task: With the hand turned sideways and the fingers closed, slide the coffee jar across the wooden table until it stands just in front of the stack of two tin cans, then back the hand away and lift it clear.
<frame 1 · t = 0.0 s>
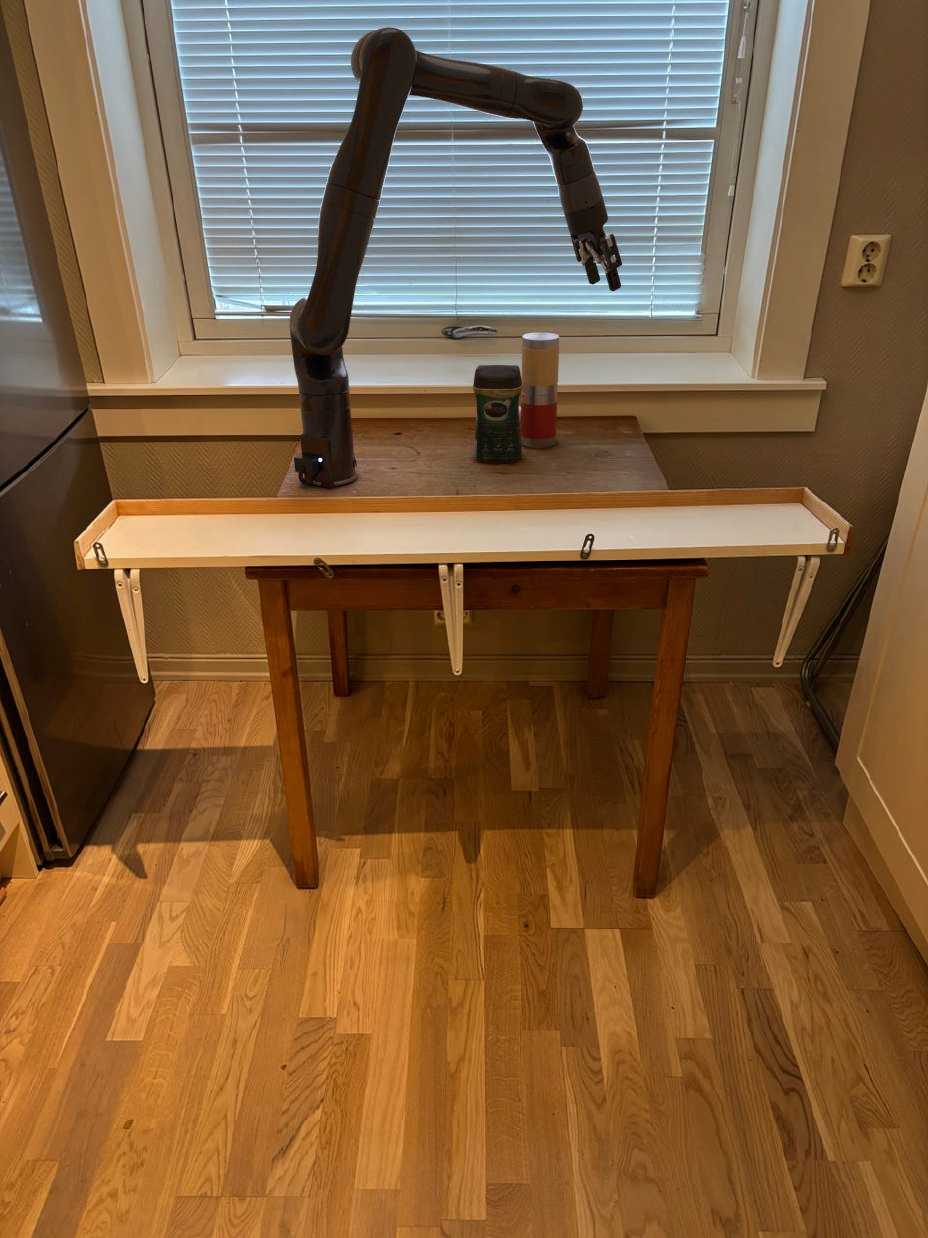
hand: (605, 285, 176), 31 cm above the table, tool tilted 20°, fingers open, 8 cm apart
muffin: (508, 428, 202), on the table
tin cans: (537, 442, 192), on the table
coffee jar: (497, 458, 184), on the table
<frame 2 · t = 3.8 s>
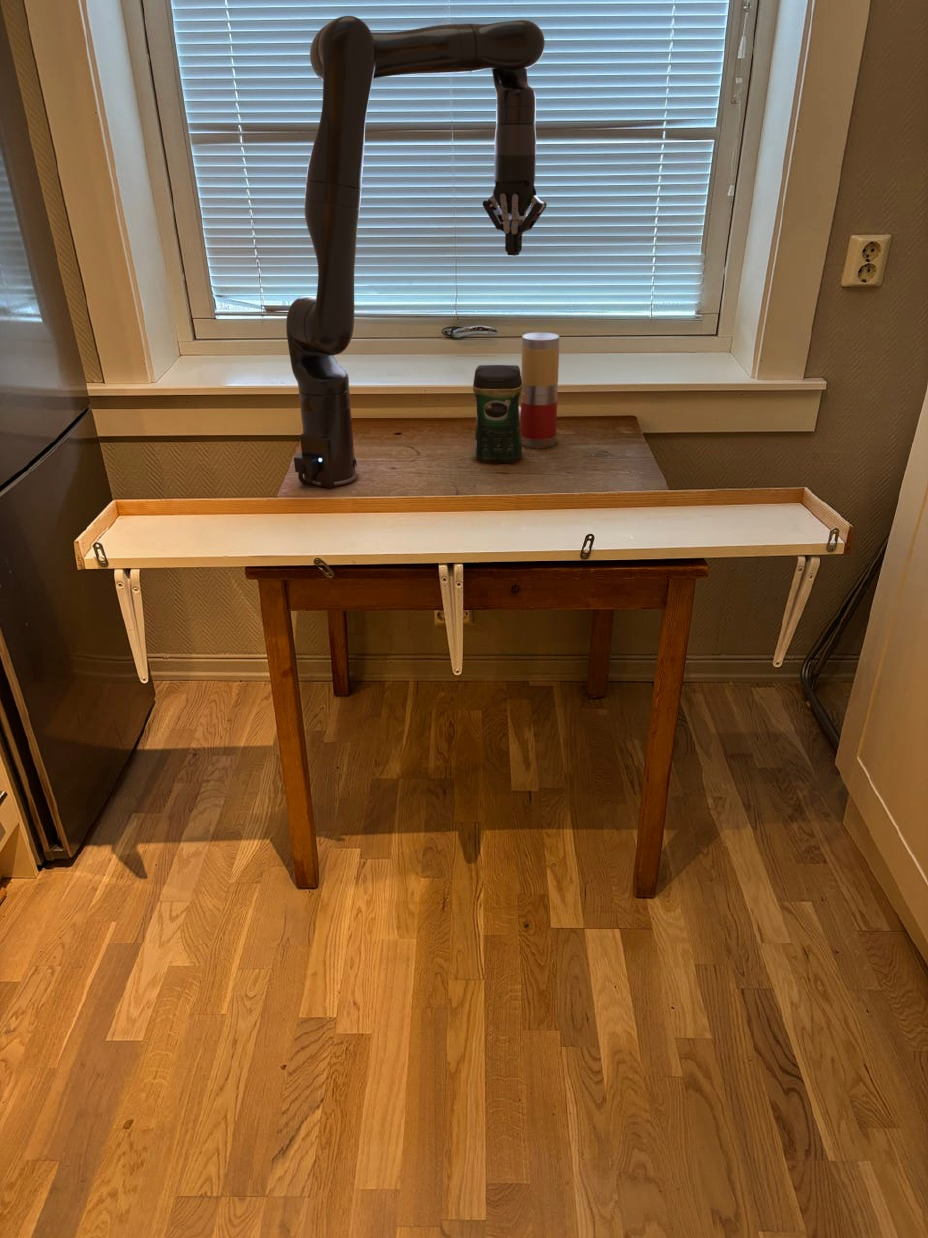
hand: (513, 254, 173), 37 cm above the table, tool pointing down, fingers closed
nothing on the table moved.
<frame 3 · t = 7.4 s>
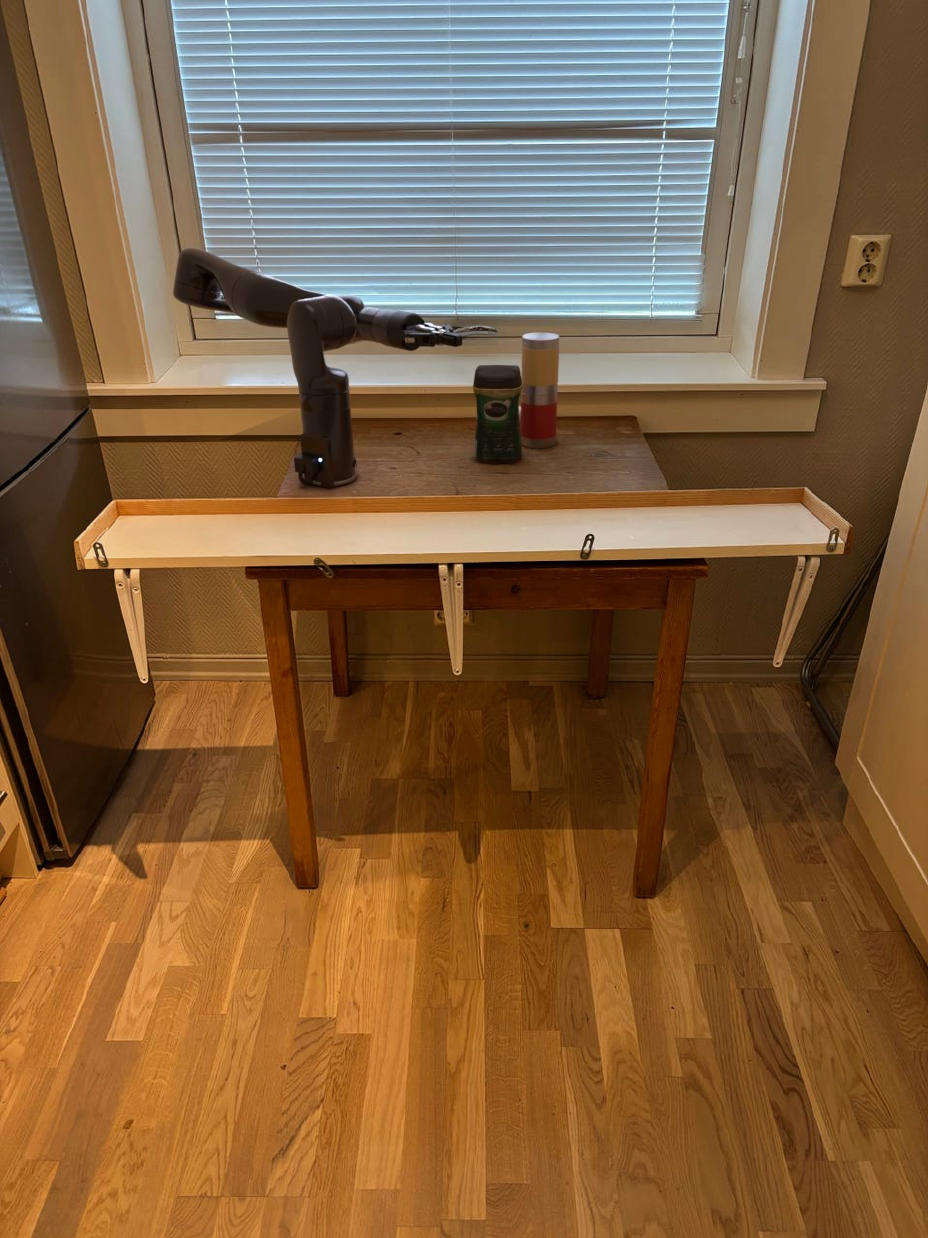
hand: (459, 340, 179), 22 cm above the table, tool horizontal, fingers closed
nothing on the table moved.
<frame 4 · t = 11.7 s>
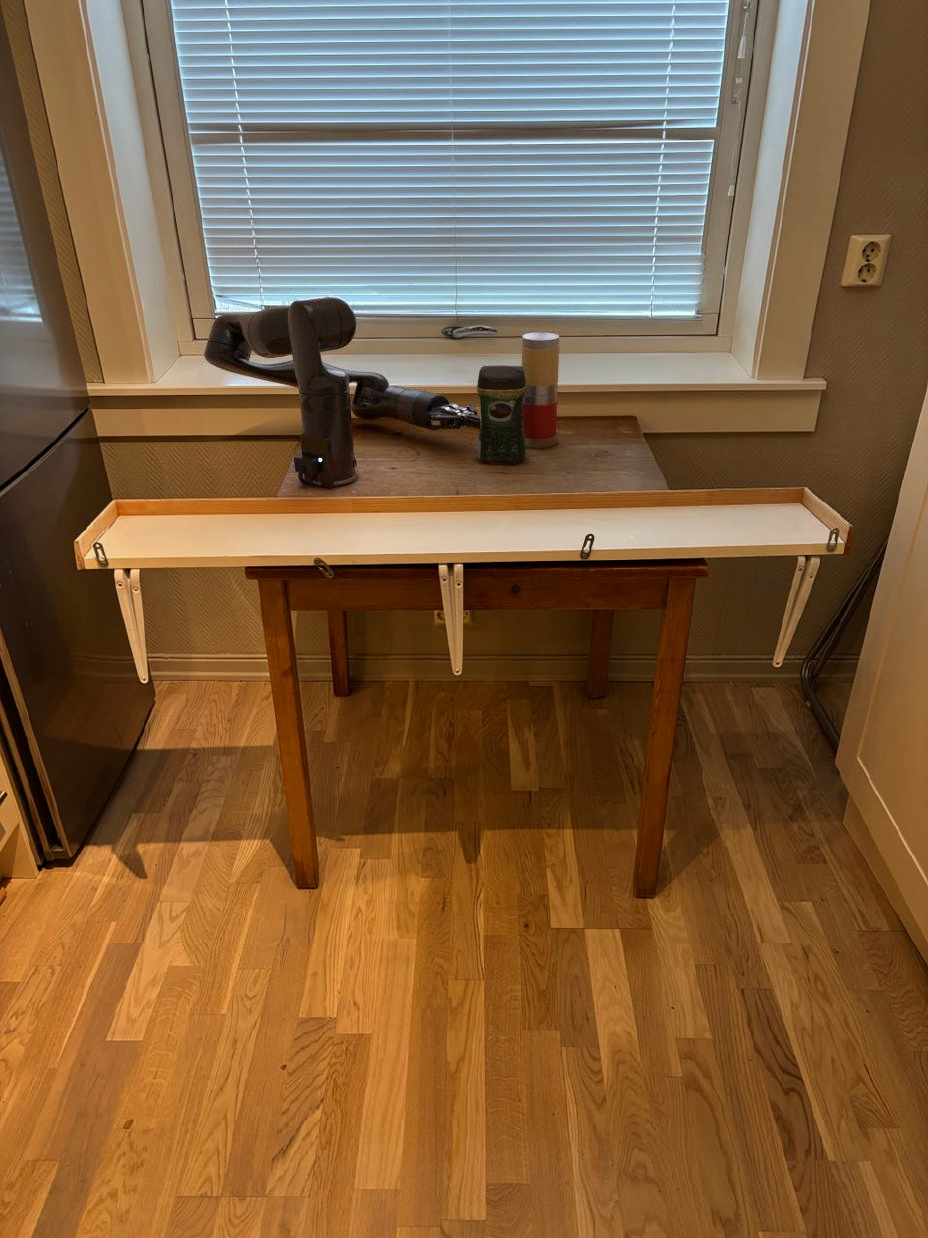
hand: (484, 423, 183), 6 cm above the table, tool horizontal, fingers closed
coffee jar: (501, 459, 184), on the table, touching gripper
everything else where it was.
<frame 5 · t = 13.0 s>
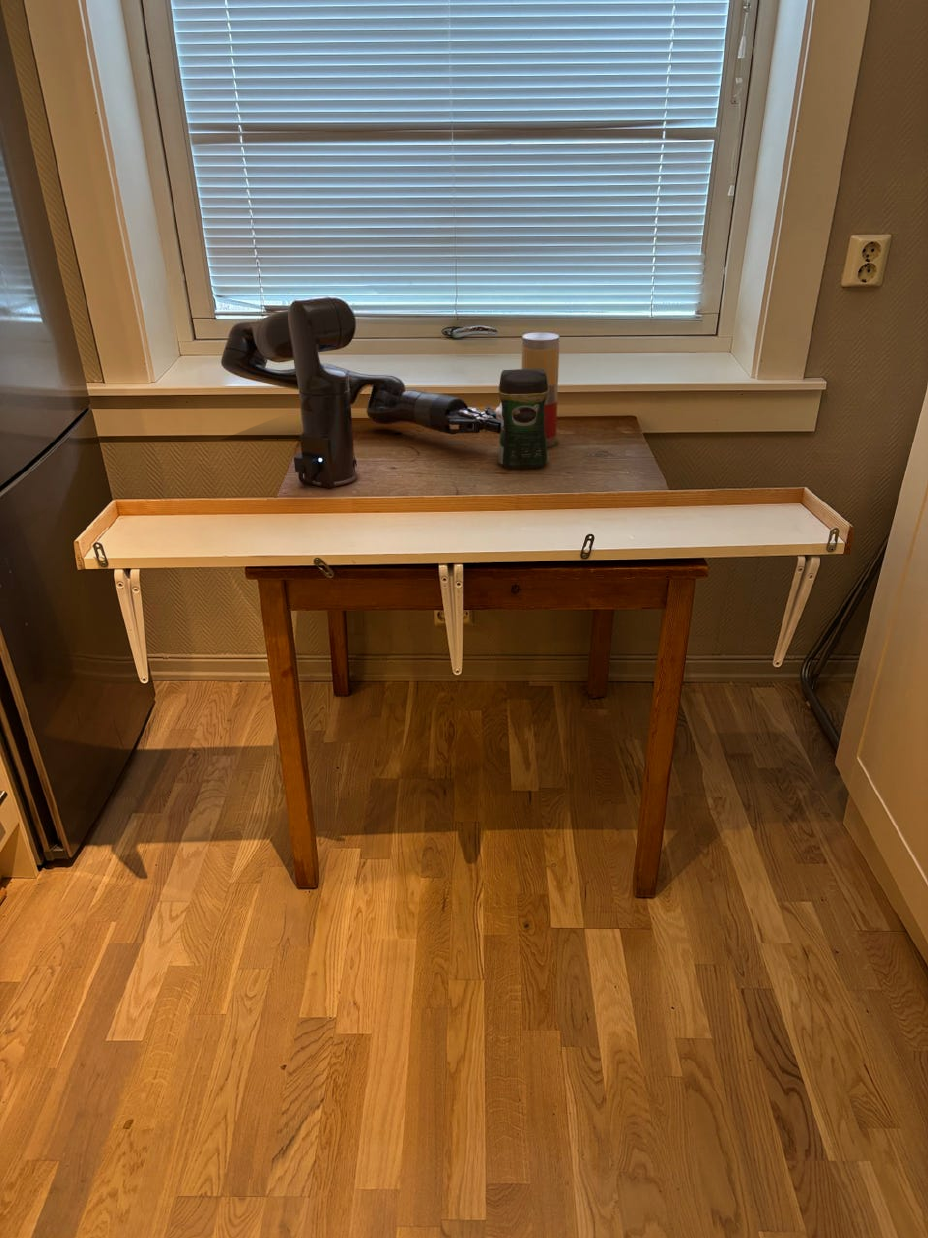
hand: (504, 427, 180), 7 cm above the table, tool horizontal, fingers closed
coffee jar: (522, 464, 181), on the table, touching gripper
everything else where it was.
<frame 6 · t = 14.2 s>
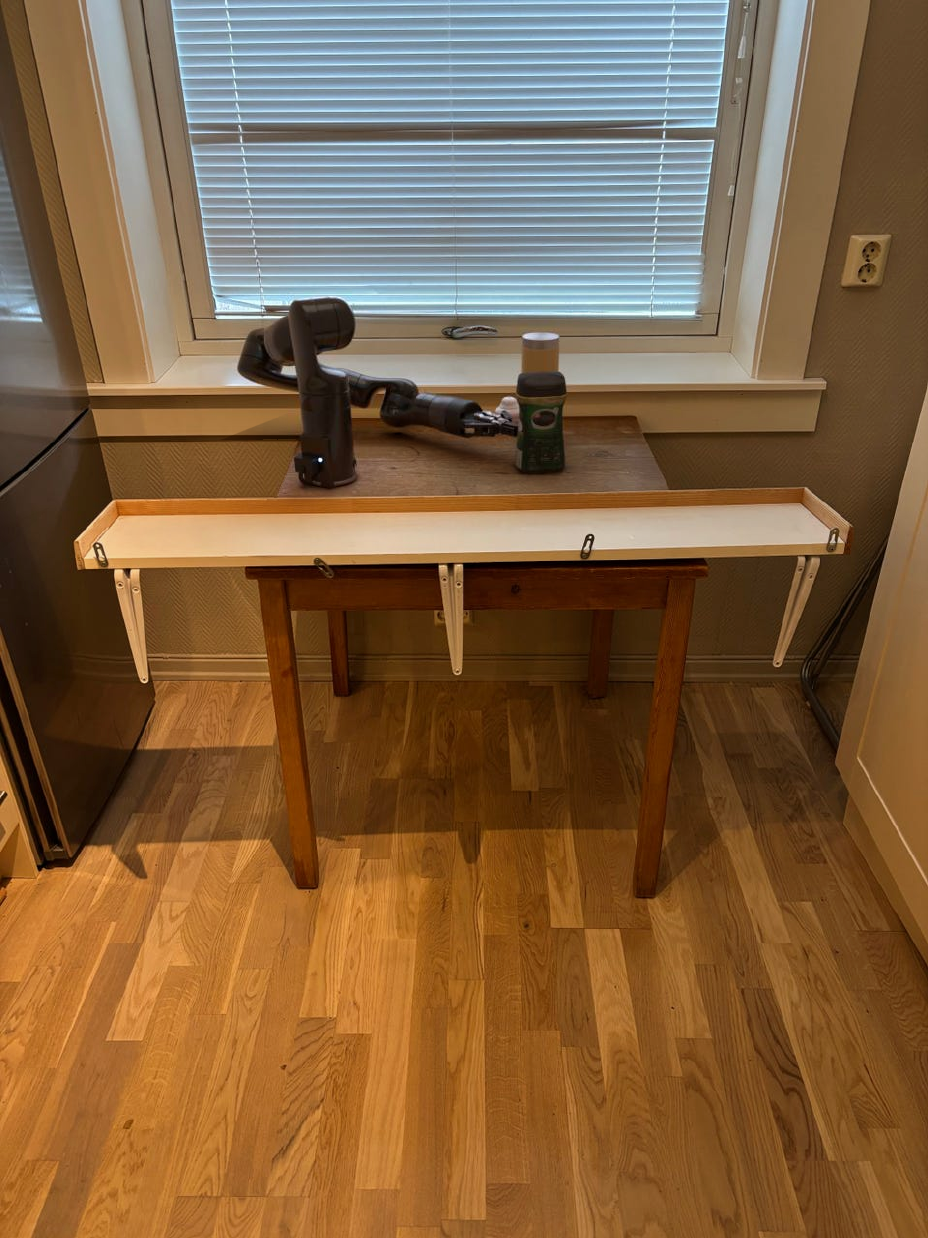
hand: (520, 431, 177), 7 cm above the table, tool horizontal, fingers closed
coffee jar: (539, 468, 179), on the table, touching gripper
everything else where it was.
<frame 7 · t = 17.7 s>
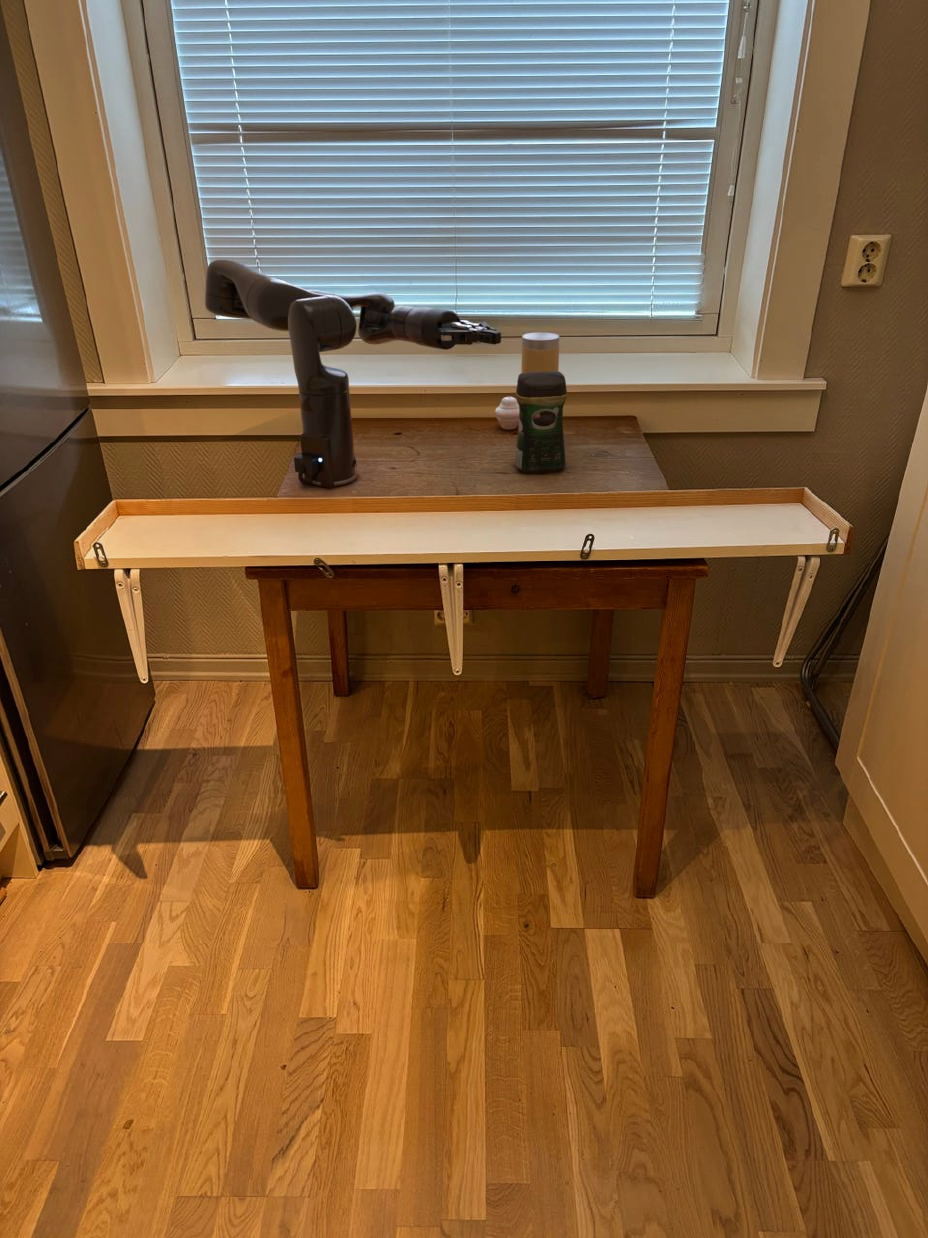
hand: (498, 338, 173), 24 cm above the table, tool horizontal, fingers closed
coffee jar: (539, 468, 179), on the table
everything else where it was.
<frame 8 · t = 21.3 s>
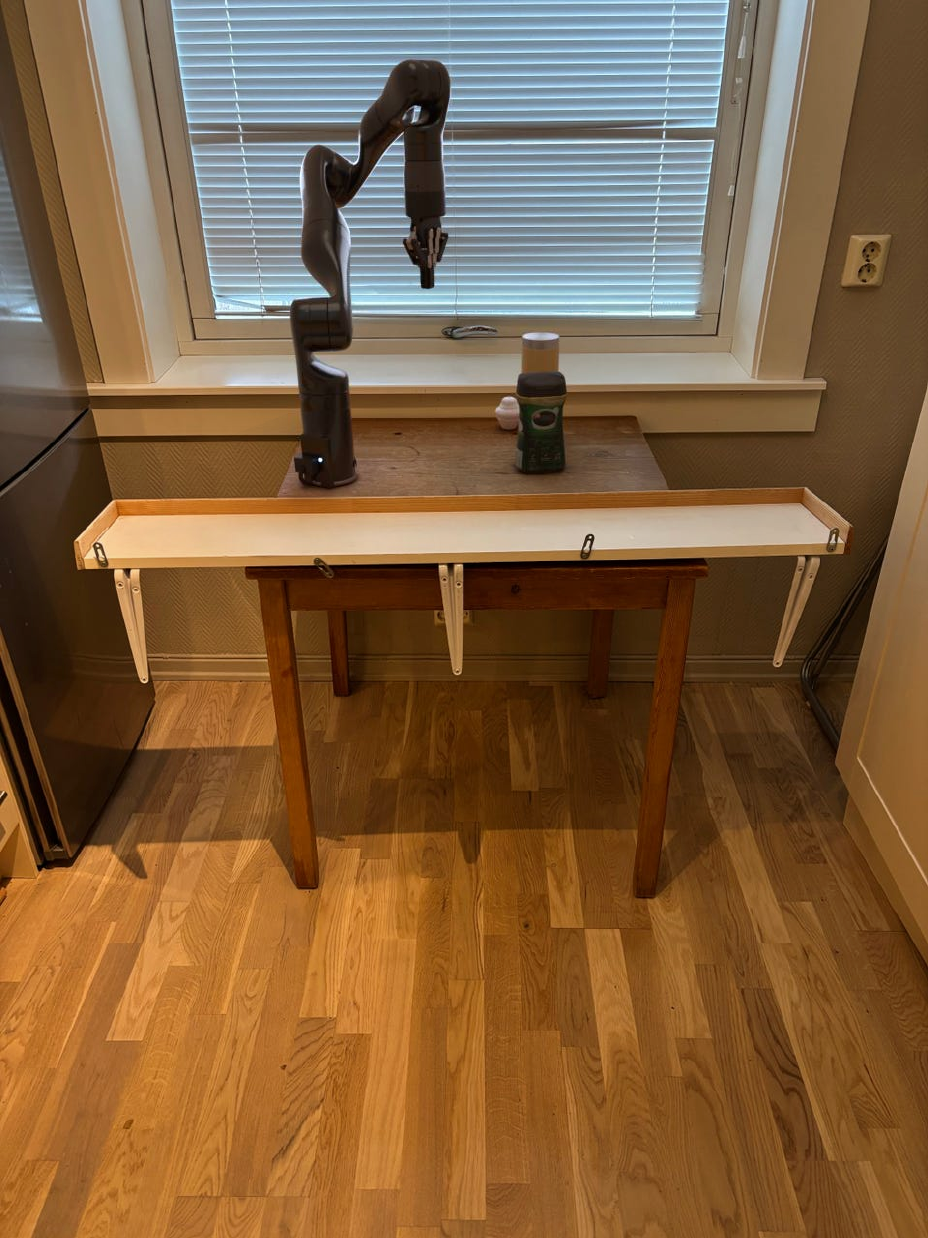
hand: (427, 287, 174), 32 cm above the table, tool pointing down, fingers closed
nothing on the table moved.
at the end: coffee jar inside the target area on the table beside the tin cans (0.7 cm from its centre), on the table; coffee jar tilted 0°; coffee jar moved 10.1 cm from its start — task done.
